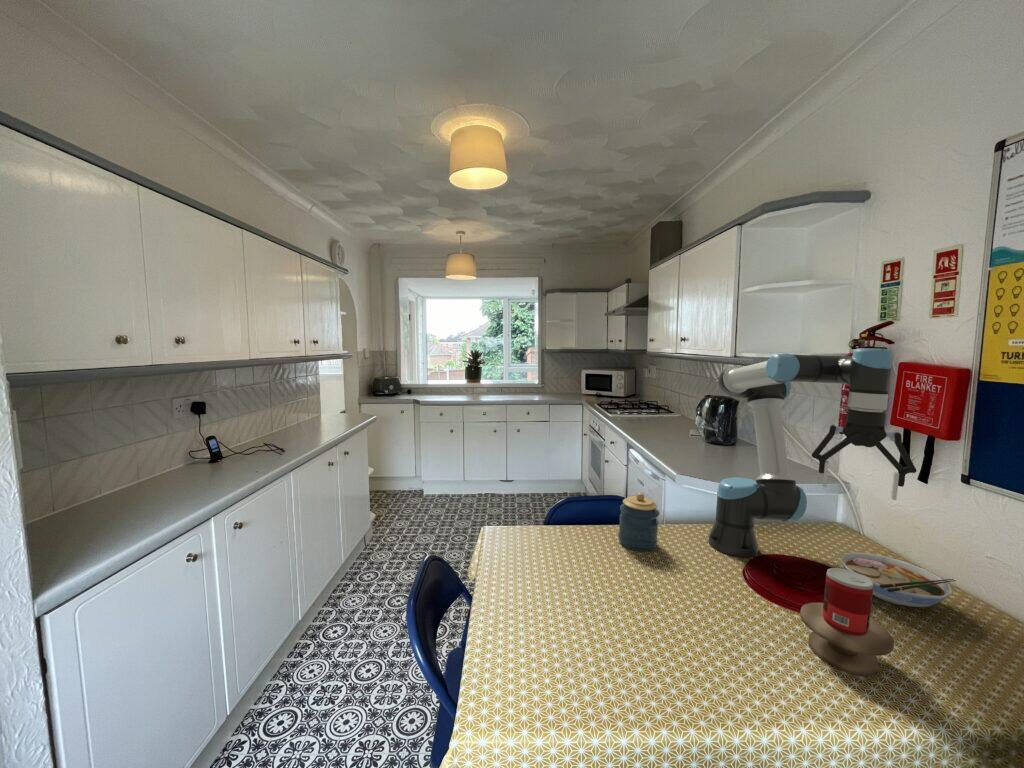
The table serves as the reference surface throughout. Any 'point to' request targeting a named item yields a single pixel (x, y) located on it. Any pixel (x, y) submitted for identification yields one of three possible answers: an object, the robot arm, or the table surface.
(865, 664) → the cake stand
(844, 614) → the canned food
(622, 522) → the canister
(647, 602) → the table surface
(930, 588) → the ramen bowl
